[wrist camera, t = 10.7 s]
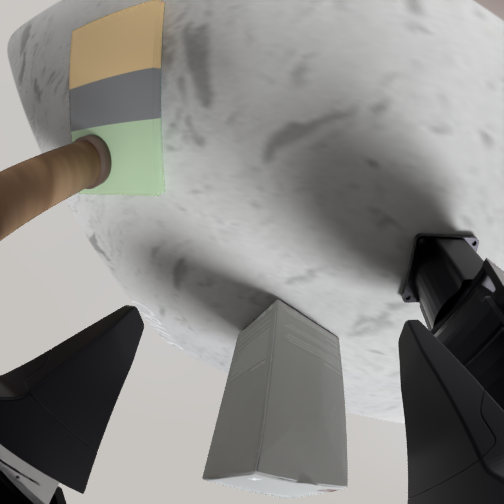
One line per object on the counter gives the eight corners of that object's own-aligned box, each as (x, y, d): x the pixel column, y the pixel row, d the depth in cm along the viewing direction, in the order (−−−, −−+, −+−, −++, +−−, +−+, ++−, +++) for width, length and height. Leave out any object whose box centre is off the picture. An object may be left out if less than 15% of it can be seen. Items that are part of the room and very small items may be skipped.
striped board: (81, 32, 14) (72, 31, 13) (164, 3, 13) (157, -2, 12) (87, 189, 22) (79, 193, 21) (164, 191, 21) (157, 196, 20)
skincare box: (238, 330, 27) (189, 476, 14) (284, 290, 24) (246, 475, 10) (300, 367, 29) (280, 502, 15) (348, 336, 25) (349, 495, 12)
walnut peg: (69, 150, 19) (-51, 208, 8) (98, 124, 18) (-44, 177, 7) (88, 193, 21) (-25, 269, 10) (119, 172, 20) (-15, 253, 9)
